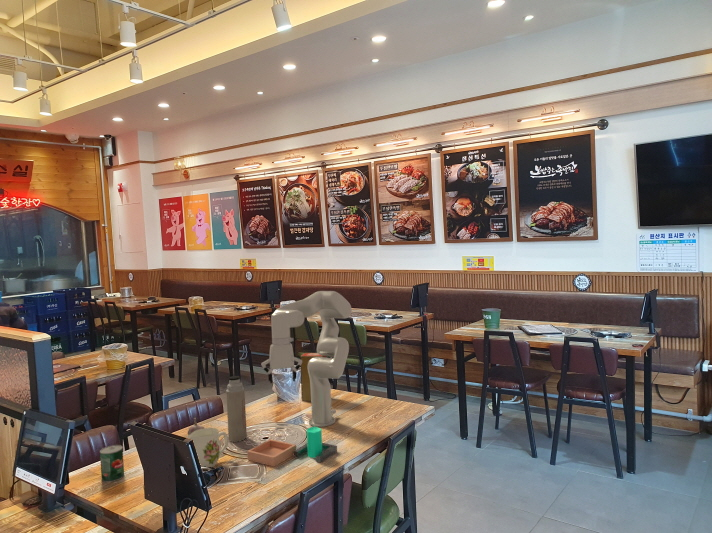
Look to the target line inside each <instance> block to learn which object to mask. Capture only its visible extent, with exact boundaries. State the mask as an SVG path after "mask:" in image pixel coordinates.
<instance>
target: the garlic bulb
mask: <svg viewBox="0 0 712 533" xmlns="http://www.w3.org/2000/svg"><path fill="white" fill-rule="evenodd" d="M193 423H194V424H193V425H191V426H189V428H188V430H187V436H188V435H190V434H191V433H192V432H194V431H196V430H199V429H203V428H205V427H204V426H203V425H200V424H198V422H197V418H196V417H194V418H193Z"/></svg>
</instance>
